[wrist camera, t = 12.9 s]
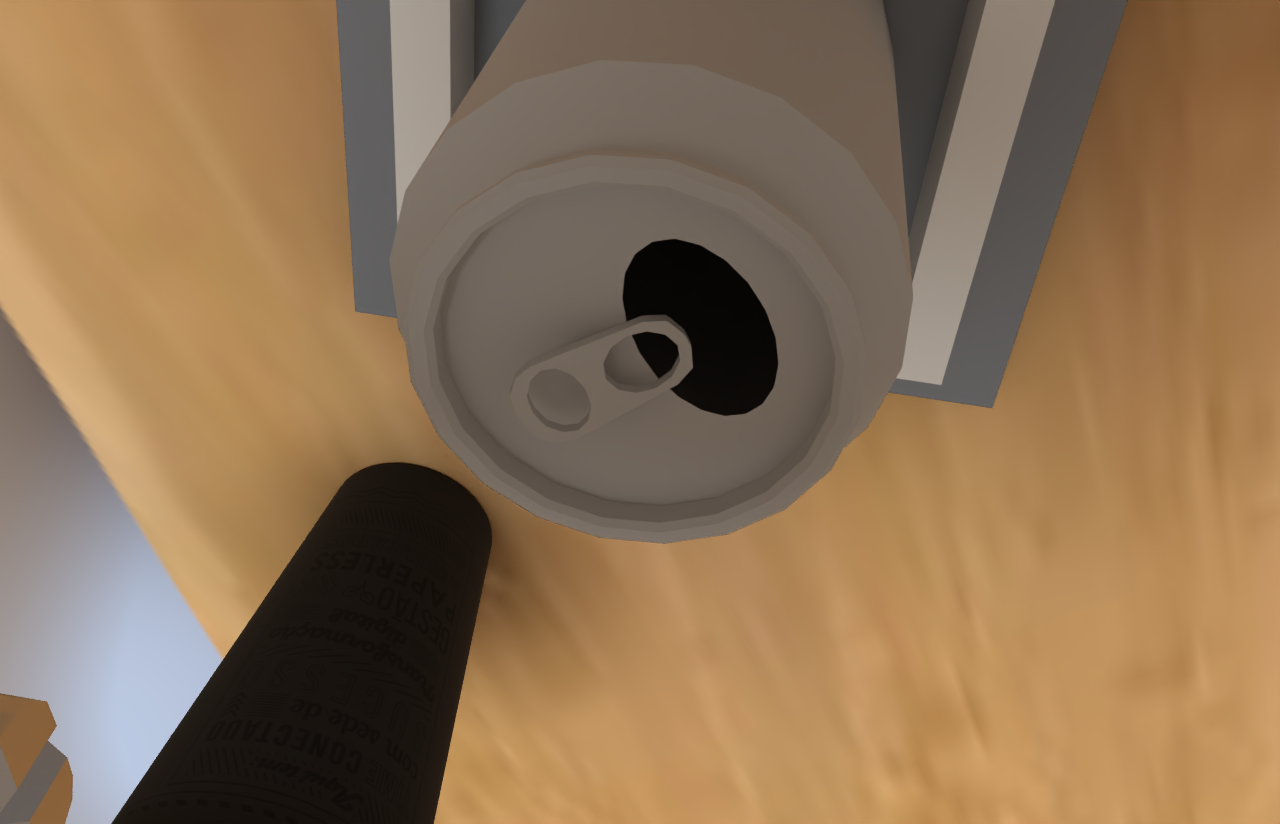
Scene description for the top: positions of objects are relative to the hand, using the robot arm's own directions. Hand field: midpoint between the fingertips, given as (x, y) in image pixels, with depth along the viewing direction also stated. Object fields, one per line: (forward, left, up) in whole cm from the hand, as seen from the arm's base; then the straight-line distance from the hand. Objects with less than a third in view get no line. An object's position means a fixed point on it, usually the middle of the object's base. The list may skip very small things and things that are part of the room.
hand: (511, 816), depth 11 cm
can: (0, 0, -19) cm, 19 cm away
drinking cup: (+16, -7, -20) cm, 27 cm away
